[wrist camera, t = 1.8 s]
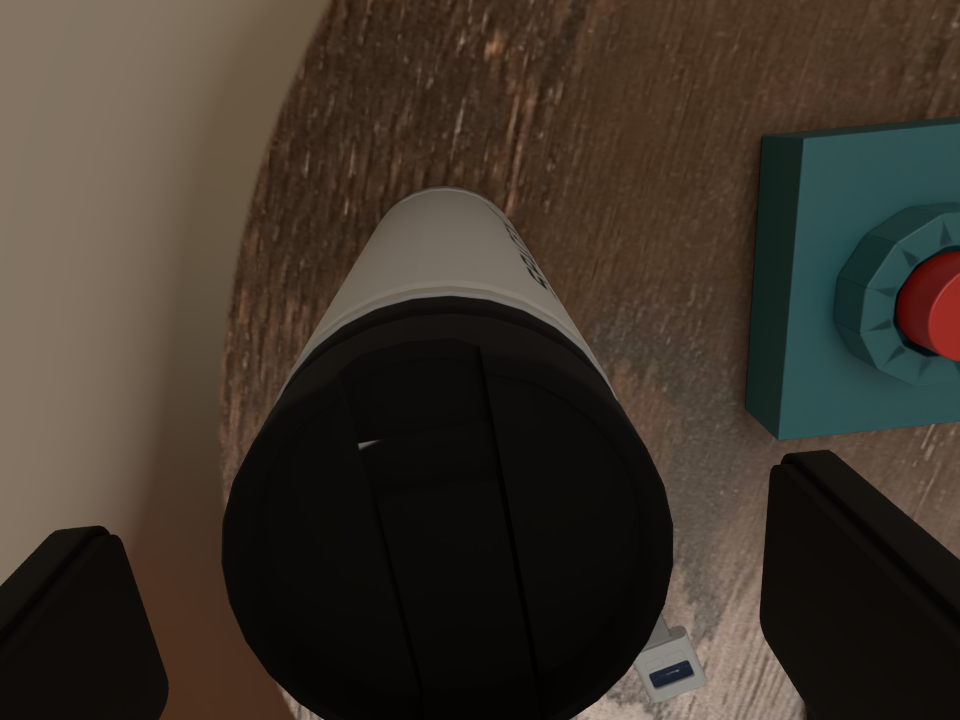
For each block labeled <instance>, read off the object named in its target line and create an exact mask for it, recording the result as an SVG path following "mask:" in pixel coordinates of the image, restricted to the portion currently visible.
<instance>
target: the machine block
mask: <svg viewBox="0 0 960 720" xmlns="http://www.w3.org/2000/svg"><path fill="white" fill-rule="evenodd" d="M952 251H960V116H959V117H949V118H939V119H928V120H918V121H908V122H897V123H887V124H877V125H866V126H856V127H846V128H835V129H825V130H814V131H804V132H794V133H783V134H773V135H764V136H763V137H762V152H761V168H760V184H759V200H758V216H757V231H756V247H755V263H754V279H753V294H752V310H751V326H750V342H749V358H748V373H747V389H746V405H745V408H746V410H748V411H749V412H750V413H751V414H752V415H753V416H754V417H755V418H756V419H757V420H758V421H759V422H760V423H761V424H762V425H763V426H764V427H765V428H766V429H767V430H768V431H769V432H770V433H771V434H772V435H773V436H774V437H775V438H776V439H777V440H787V439H797V438H806V437H816V436H825V435H835V434H845V433H854V432H864V431H873V430H883V429H892V428H902V427H911V426H921V425H930V424H940V423H949V422H959V421H960V361H954V360H950V359H948V358H945V357H943V356H941V355H939V354H937V353H935V352H933V351H931V350H929V349H927V348H925V347H923V346H920V345H918V344H916V343H914V342H913V341H911V340H910V339H909V338H907V337H906V336H905V334H904V333H903V332H902V330H901V328H900V326H899V324H898V321H897V315H896V307H897V301H898V297H899V294H900V291H901V289H902V287H903V285H904V284H905V282H906V280H907V279H908V278H909V276H910V275H911V274H912V273H913V272H914V271H915V270H916V269H917V268H918V267H919V266H920V265H922V264H923V263H924V262H926V261H927V260H929V259H931V258H933V257H935V256H937V255H940V254H943V253H947V252H952Z"/></svg>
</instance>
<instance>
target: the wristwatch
mask: <svg viewBox="0 0 960 720" xmlns="http://www.w3.org/2000/svg"><path fill="white" fill-rule="evenodd" d="M633 665H634V668H635V670H636V672H637V674H638V676H639V678H640V680H641V682H642V684H643V686H644V688H645V690H646V693H647V695H648V697H649V699H650V701H651V702H653V703H658V702H661V701H664V700H666V699H669V698H672V697H674V696H677V695H680V694H682V693H685V692H688V691H691V690H693V689H696V688H699V687H701V686H704V685H705V684H706V683H707V678H706V676H705V673H704V671H703V669H702V666H701V664H700V662H699V659H698V657H697V655H696V652H695V650H694V648H693V645H692V643H691V641H690V638H689V636H688V634H687V631H686V629H685V628H684V627H683V626H676V627H673V628H671V629H668V627H667V625H666V623H665V621H664V618H663V616H662V614H660V616H659V618H658V620H657V623H656V625H655V627H654V630H653V632H652V634H651V636H650V639H649V641H648V642H647V644H646V645H645V647H644V648H643V650H642V651H641V652H640V654H639V655H638V657H637V658H636V660H635V661H634V662H633Z"/></svg>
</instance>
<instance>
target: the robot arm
mask: <svg viewBox="0 0 960 720" xmlns="http://www.w3.org/2000/svg"><path fill="white" fill-rule="evenodd" d="M760 623H761V628H762V632H763V634H764V637H765V639H766V641H767V643H768V645H769V646H770V648H771V649H772V651H773V653H774V654H775V656H776V657H777V659H778V661H779V662H780V664H781V665H782V667H783V669H784V670H785V672H786V674H787V675H788V677H789V678H790V680H791V682H792V683H793V685H794V686H795V688H796V690H797V691H798V693H799V695H800V696H801V698H802V699H803V701H804V703H805V704H806V706H807V707H808V709H809V711H810V712H811V714H812V716H813V717H814V719H815V720H960V560H959V559H958V558H957V557H956V556H954V555H953V554H952V553H951V552H950V551H949V550H947V549H946V548H945V547H944V546H943V545H942V544H940V543H939V542H938V541H937V540H936V539H934V538H933V537H932V536H931V535H930V534H929V533H927V532H926V531H925V530H924V529H923V528H922V527H920V526H919V525H918V524H917V523H916V522H914V521H913V520H912V519H911V518H910V517H909V516H907V515H906V514H905V513H904V512H903V511H901V510H900V509H899V508H898V507H897V506H896V505H894V504H893V503H892V502H891V501H890V500H889V499H887V498H886V497H885V496H884V495H883V494H881V493H880V492H879V491H878V490H877V489H876V488H874V487H873V486H872V485H871V484H870V483H869V482H867V481H866V480H865V479H864V478H863V477H861V476H860V475H859V474H858V473H857V472H856V471H854V470H853V469H852V468H851V467H850V466H849V465H847V464H846V463H845V462H844V461H843V460H841V459H840V458H839V457H838V456H837V455H836V454H834V453H833V452H831V451H829V450H818V451H809V452H799V453H789V454H786V455H785V456H784V457H783V459H782V461H781V465H775V466H773V467H772V469H771V472H770V479H769V493H768V506H767V520H766V533H765V547H764V561H763V574H762V588H761V601H760ZM168 689H169V688H168V679H167V675H166V672H165V669H164V666H163V663H162V660H161V657H160V654H159V651H158V648H157V645H156V642H155V639H154V636H153V633H152V630H151V627H150V624H149V621H148V618H147V615H146V612H145V609H144V606H143V603H142V600H141V597H140V594H139V591H138V588H137V585H136V582H135V579H134V576H133V573H132V570H131V567H130V564H129V561H128V558H127V555H126V552H125V549H124V546H123V543H122V541H121V539H120V538H119V537H118V536H117V535H110V533H109V532H108V531H107V529H106V528H104V527H102V526H90V527H80V528H71V529H62V530H57V531H54V532H53V533H52V534H50V535H49V536H48V537H47V538H46V539H45V540H44V541H43V542H42V544H41V545H40V546H39V547H38V548H37V549H36V550H35V551H34V552H33V553H32V554H31V555H30V556H29V557H28V558H27V559H26V560H25V561H24V562H23V563H22V564H21V565H20V567H18V569H17V570H16V571H15V572H14V573H13V574H12V575H11V576H10V577H9V578H8V579H7V580H6V581H5V582H4V583H3V584H2V585H1V586H0V720H159V718H160V716H161V714H162V712H163V710H164V708H165V705H166V702H167V697H168Z"/></svg>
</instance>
